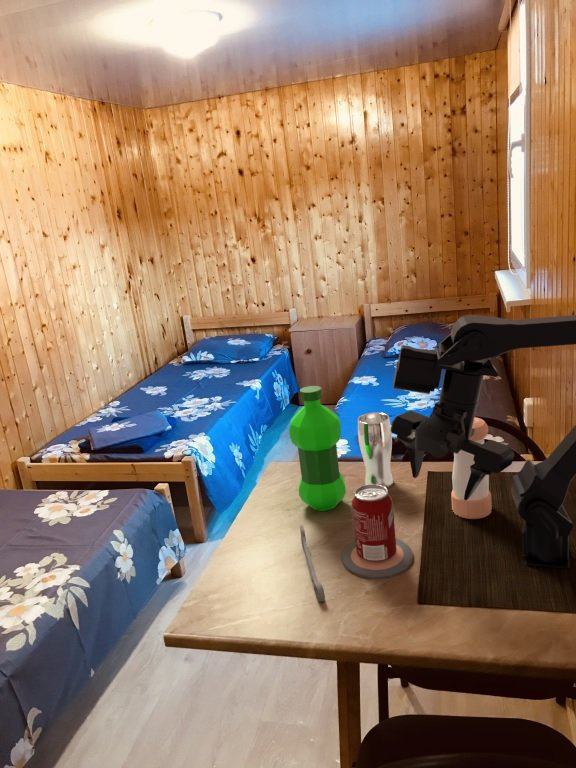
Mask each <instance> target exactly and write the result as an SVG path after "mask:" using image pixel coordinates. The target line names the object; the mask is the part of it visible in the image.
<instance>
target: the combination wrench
mask: <svg viewBox="0 0 576 768" xmlns="http://www.w3.org/2000/svg"><path fill="white" fill-rule="evenodd" d="M299 532H300V541H301V542H300V543H301V546H302V548H303V551H304V556H305V560H306V563H307V566H308V567H307V568H308V570H309V575H310V578H311V581H312V584H313V588H314V594H315V596H316V599H317V598H318V599H317V602H319V603H321V602H324V601H326V595H325V589H324V587H323V585H322V583H321V582H319V581H318V578H317V575H316V571H315V567H314V563H313V560H312V557H311V553H310V550H309V546H308V544H307V543H308V542H307V537H306V531H305V528H304V526H303V524H300V525H299Z"/></svg>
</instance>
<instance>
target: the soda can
mask: <svg viewBox="0 0 576 768" xmlns="http://www.w3.org/2000/svg"><path fill="white" fill-rule="evenodd" d="M393 503H394V502H393V499H392V497H391V496H390V494H389V490H388V488H385V487H384V486H381V485H374V484H372V485H365V484H364V485H362V486H359V487H358V488H356V489H355V491H354V496H353V498H352V501H351V508H352V509H351V510H352V519H353V520H352V521H353V527H354V537H355V538H354V540H355V541H356V550H357V555H358V557H359V558H360V559H362V560H364V561H366V562H370V563H382V562H385V561H388V560H390V559H392V558H393V557H394V556H395V555H396V552H397V550H396V539H397V538H396V528H395V527H396V526H395V516H394V513H395V512H394V504H393Z"/></svg>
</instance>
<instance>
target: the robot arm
mask: <svg viewBox="0 0 576 768" xmlns="http://www.w3.org/2000/svg"><path fill="white" fill-rule="evenodd" d="M572 345H573V346H574V345H576V314H571V315H561V316H559V315H558V316H557V315H556V316H548V317H536V318H535V317H533V318H522V319H521V318H520V319H508V318H502V317H496V316H491V315H489V316H488V315H478V314H477V315H476V314H468V315H467V314H466V315H463V316H460V317H459V318H458V319H457V320H456V321H455V322H454V323H453V325H452V327H451V329H450V333H449V334H448V335H447V336H446V337H445V338H444V339H443V340H442V341H441V342H439V343H438V344H437V345H436V346H435V347H434V350H431V349H430V350H429V349H424V348H416V347H412V346H411V345H405V344H403V345H401V346H400V351H399V355H398V360H397V361H396V363H395V370H394V377H393V382H392V383H393V384H392V389H394V390H398V391H399V390H400V391H406V392H407V391H408V392H414V393H420V394H426V395H430V393H431V392H435V389H438V388H439V386H440V382H441V375H442V371H443V370H444V375H443V380H442V385H441V388H440V389H441V390H440V393H439V394H440V395H439V400H438V401H436V402H434V406H433V407H432V412H431V413H430V415H429V416H428V415H427V416H426V415H424V414H422V413H419V412H416V411H413V410H408V411H407V412H406V411H405V412H404V413H402V414H399V415H396V416H395V417H393V418H392V419H393V420H392V421H391V423H390V426H391V430H390V431H391V433H392V434H394V435H396V439H397V440H398V441H401V443H402V444H403V445H404V446H405V447H406V451H407V454H408V458H409V464H410V468H411V474H412V477H413V478H414V479H416V478H418V477H419V475H420V472H421V469H422V466H423V461H424V456H425V453H427V454H430V455H431V456H432V457H434V458H436V459H437V458H439V459H440V458H443V457H445V456H446V455H447V453H451V452H452V453H453V454H454V453H456V454H457V453H459V451H460V450H463V451H465V452H468V453H470V454H473V455H474V459H473V460H474V462H475V463H474V464H473V465H471V466H470V470H471V474H470V477H469V481H468V484H467V487H466V490H465V495H464V500H468V499H469V498H470V496H471V495H472V493H473V492H474V491H475V489H476V488H477V487H478V485H479V484H480V482H481V481H482V480H483V478H484V477H485V476H486V475H489V476H490V475H492V474H499V473H501V472H503V471H504V470H506V469H507V468H508V467H510V466H511V465H512V464H513V461H514V457H515V453H514V452H515V451H514V450H513V448H512V446H509V445H507V444H504V443H502V442H499V441H496V440H493V439H489V440H487V441H486V442H485V441H484V444H480V443H477V442H474V441H472V440H470V437H471V436H473V435H474V430H475V429H472V427H473V422H474V418H475V417H476V414H477V413H478V412H479V411H480V407H481V405H480V404H479V399H480V394H481V390H482V385H483V380H484V377H493V378H498V376H499V372H498V370H497V368H496V366H494V365H493V363H492V360H491V358H496V357H498V356H501V355H503V354H505V353H509V352H510V351H511V352H512V351H515V350H519V349H530V348H531V349H533V348H545V347H556V346H557V347H558V346H572ZM575 477H576V424H575V425H574V426H573V427H572V428H571V430H569V431H568V433H567V434H566V435H565V437H564V438H563V439H562V440H561V441H560V443H558V445H557V446H556V447H555V449H554V450H552V452H551V453H550V454H549V455H548V457H546V459H544V460H542V461H539V462H538V463H534V462H532V461H531V460H530V459H528V460H527V461H526V462H525V463H524V464H523V466H522V468H521V469H520V471H518V473H516V474H514V475H512V479H513V482H512V484H511V486H510V489H511V496H512V499H513V501H514V504H515V507H516V508H517V511H518V514H519V516H520V518H521V519H523V521H525V524H523V525H522V527H521V554H522V556H524V557H525V561H524V562H525V563H524V564H525V565H527V566H532V567H534V566H535V567H543V568H553V569H554V568H555V569H556V568H557V569H565V570H568V569H570V566H571V564H570V563H571V562H570V553H569V539H570V538H569V537H570V535H571V532H572V531H573V530H572V529H573V527H574V524H573V522H572V520H571V519H570V516H569V514H568V513H567V511H566V508H565V507H564V505H563V504H564V502H565V500H566V497H567V494H568V490H569V488H570V484H571V482H572V480H573V479H574V478H575Z"/></svg>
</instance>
